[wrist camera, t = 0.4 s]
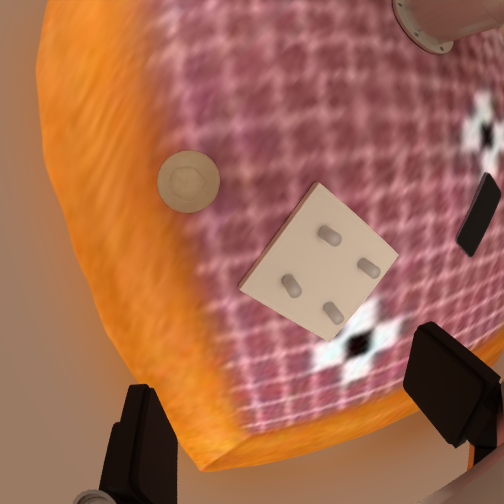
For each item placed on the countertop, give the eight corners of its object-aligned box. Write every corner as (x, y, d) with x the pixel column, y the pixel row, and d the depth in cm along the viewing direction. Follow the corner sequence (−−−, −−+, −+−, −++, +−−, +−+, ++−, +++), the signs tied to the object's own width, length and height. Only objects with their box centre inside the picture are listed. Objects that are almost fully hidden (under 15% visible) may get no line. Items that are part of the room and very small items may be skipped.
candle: (218, 153, 32) (221, 149, 22) (217, 200, 33) (219, 216, 24) (170, 153, 31) (154, 150, 22) (170, 200, 33) (154, 216, 23)
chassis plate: (314, 181, 34) (330, 185, 30) (393, 251, 39) (412, 263, 34) (238, 284, 37) (242, 302, 32) (326, 336, 42) (338, 355, 37)
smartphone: (454, 240, 40) (487, 170, 37) (450, 238, 41) (483, 169, 38) (471, 259, 42) (502, 193, 38) (467, 257, 43) (498, 192, 40)
